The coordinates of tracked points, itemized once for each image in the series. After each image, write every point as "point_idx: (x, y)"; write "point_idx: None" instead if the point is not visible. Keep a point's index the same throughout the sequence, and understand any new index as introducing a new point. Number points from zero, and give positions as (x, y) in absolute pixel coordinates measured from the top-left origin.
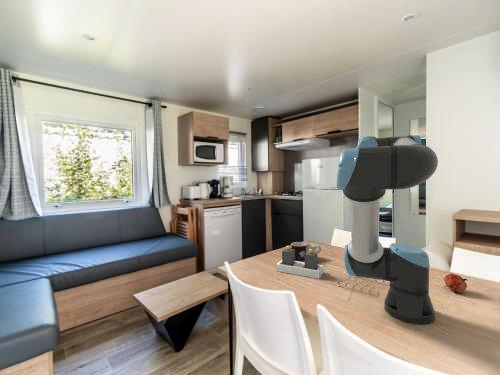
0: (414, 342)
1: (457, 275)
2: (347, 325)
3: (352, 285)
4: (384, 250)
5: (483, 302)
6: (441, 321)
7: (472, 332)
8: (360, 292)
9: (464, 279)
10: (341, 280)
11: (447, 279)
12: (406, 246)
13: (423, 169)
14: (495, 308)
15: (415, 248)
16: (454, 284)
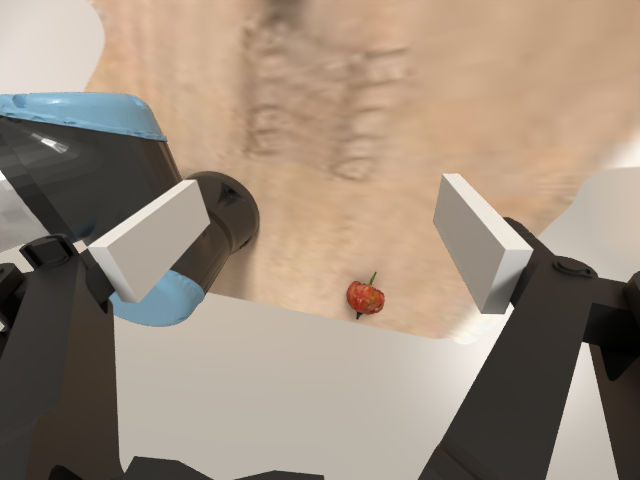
0: None
1: (370, 311)
2: None
3: (278, 75)
4: (88, 243)
5: (334, 308)
6: None
7: (219, 278)
8: (245, 109)
9: (357, 316)
10: (298, 24)
11: (357, 292)
12: (147, 300)
13: None
14: (319, 315)
15: (156, 315)
16: (348, 295)
